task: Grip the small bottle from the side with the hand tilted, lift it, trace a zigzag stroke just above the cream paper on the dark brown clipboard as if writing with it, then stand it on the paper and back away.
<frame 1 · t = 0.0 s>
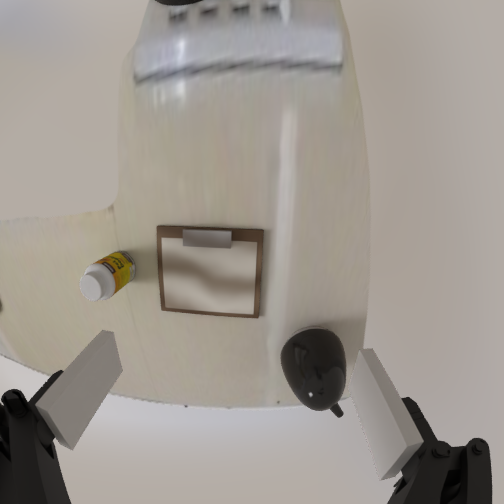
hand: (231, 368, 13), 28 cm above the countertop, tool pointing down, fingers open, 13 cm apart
supplement bottle: (122, 265, 42), on the countertop
clipboard: (208, 272, 41), on the countertop
pump dispenser: (308, 342, 44), on the countertop
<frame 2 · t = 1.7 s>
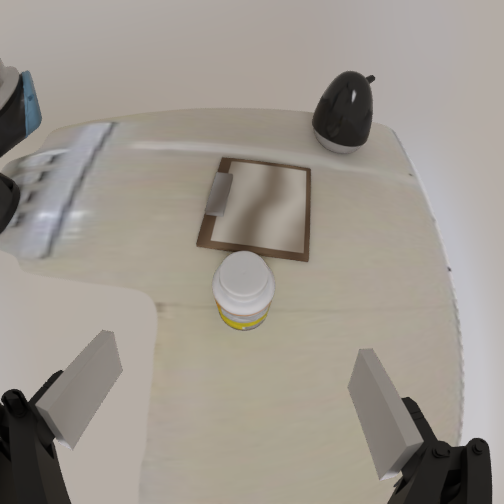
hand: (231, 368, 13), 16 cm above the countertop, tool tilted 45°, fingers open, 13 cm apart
supplement bottle: (243, 308, 31), on the countertop
clipboard: (259, 203, 37), on the countertop
pump dispenser: (335, 144, 45), on the countertop
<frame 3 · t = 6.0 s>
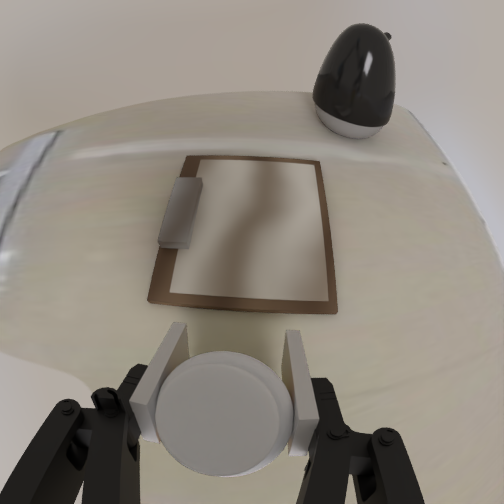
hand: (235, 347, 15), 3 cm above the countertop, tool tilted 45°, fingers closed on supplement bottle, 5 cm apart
supplement bottle: (234, 407, 16), on the countertop, touching gripper
clipboard: (247, 221, 23), on the countertop
pump dispenser: (346, 127, 32), on the countertop
when the fingers open (5 cm above the countertop, at t = 12.4 s): supplement bottle stays where it is, resting on clipboard.
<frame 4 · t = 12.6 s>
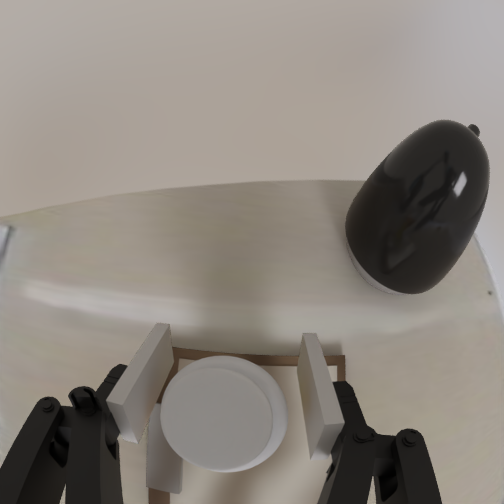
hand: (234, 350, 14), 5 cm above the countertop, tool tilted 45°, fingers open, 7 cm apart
supplement bottle: (235, 407, 17), point 1 cm above the countertop, touching clipboard
clipboard: (246, 456, 15), on the countertop
pump dispenser: (383, 259, 24), on the countertop
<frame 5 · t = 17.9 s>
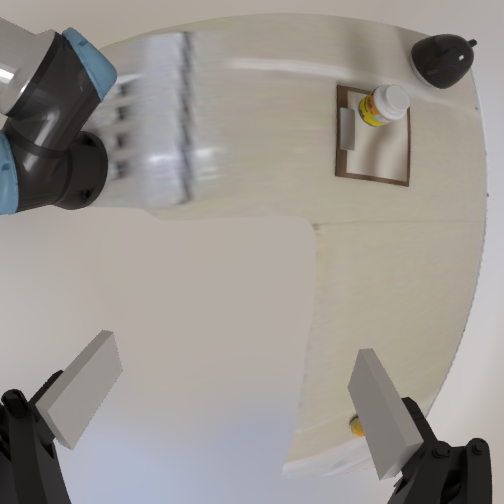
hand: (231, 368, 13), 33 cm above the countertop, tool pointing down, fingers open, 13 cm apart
supplement bottle: (371, 112, 38), point 1 cm above the countertop, touching clipboard
clipboard: (375, 135, 39), on the countertop
pump dispenser: (423, 70, 35), on the countertop
bread roll: (364, 420, 56), on the countertop
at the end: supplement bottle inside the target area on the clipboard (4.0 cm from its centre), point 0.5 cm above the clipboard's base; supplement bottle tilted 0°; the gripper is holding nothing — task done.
